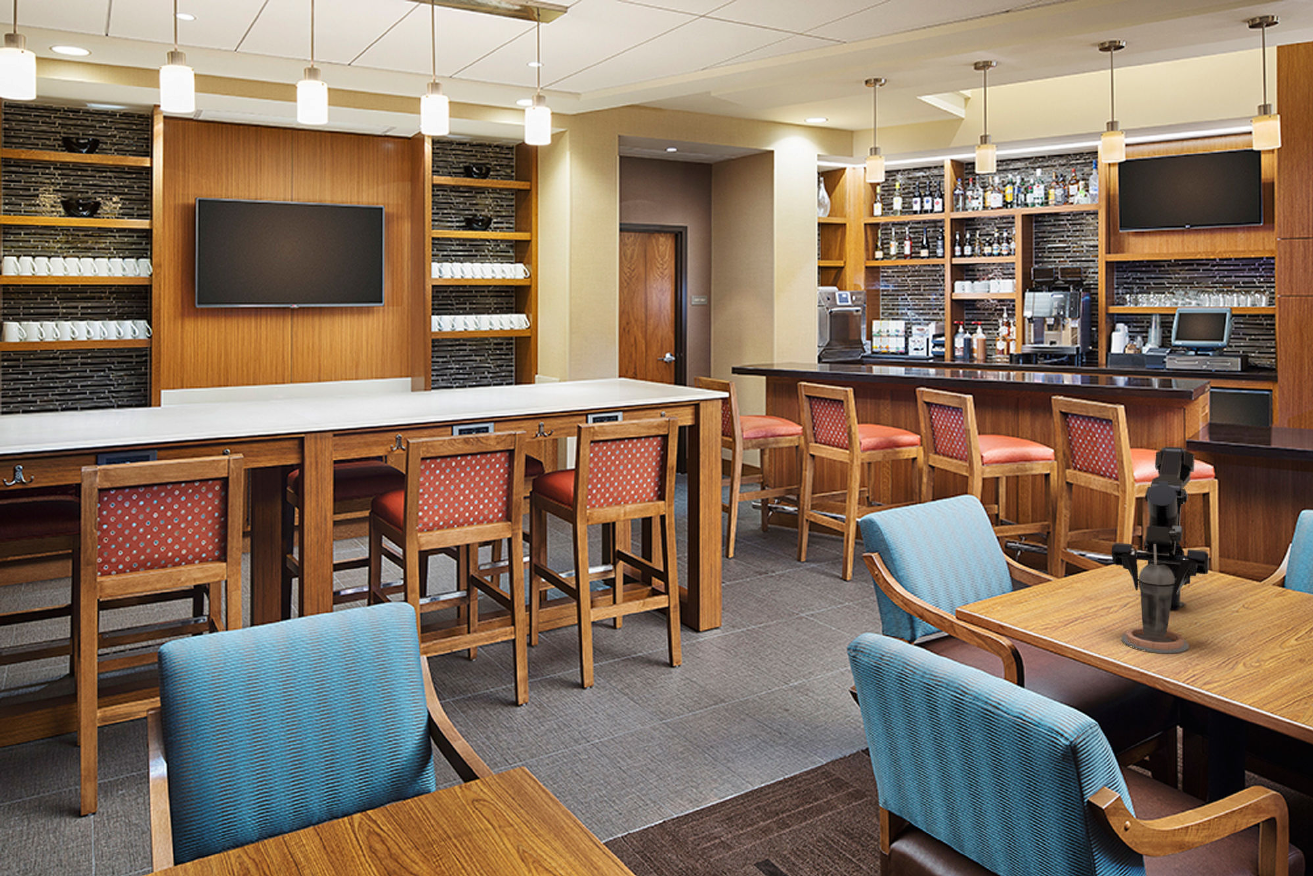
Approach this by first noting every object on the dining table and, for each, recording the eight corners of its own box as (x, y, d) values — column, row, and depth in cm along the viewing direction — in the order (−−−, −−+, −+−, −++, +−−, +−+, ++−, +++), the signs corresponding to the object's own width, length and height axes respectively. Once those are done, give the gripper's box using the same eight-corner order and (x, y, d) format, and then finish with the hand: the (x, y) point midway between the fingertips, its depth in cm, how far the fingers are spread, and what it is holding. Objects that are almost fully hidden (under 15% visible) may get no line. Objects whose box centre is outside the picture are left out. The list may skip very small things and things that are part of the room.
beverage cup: (1180, 633, 206) (1184, 544, 203) (1160, 640, 202) (1164, 549, 199) (1149, 625, 212) (1152, 537, 209) (1129, 631, 208) (1132, 542, 206)
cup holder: (1133, 629, 216) (1134, 622, 216) (1196, 642, 207) (1197, 634, 207) (1112, 644, 207) (1112, 636, 207) (1176, 658, 198) (1177, 650, 198)
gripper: (1113, 507, 212) (1105, 567, 204) (1210, 514, 202) (1205, 578, 194) (1117, 534, 219) (1109, 593, 212) (1210, 542, 209) (1205, 604, 202)
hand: (1155, 591), depth 205 cm, fingers closed on beverage cup, 7 cm apart
